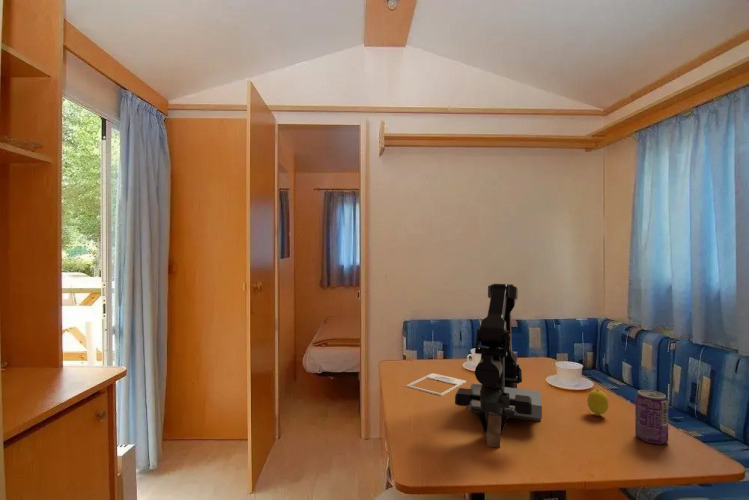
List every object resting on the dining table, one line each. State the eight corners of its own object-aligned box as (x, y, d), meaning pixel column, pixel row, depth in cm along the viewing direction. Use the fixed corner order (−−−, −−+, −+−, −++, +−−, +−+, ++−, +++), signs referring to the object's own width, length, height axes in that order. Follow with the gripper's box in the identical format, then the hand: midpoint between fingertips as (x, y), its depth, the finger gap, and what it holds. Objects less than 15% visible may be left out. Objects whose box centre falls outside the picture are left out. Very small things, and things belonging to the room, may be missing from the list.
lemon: (607, 413, 122) (607, 387, 122) (609, 421, 117) (609, 393, 117) (586, 410, 125) (586, 384, 125) (587, 417, 120) (588, 390, 120)
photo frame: (466, 380, 151) (441, 393, 138) (466, 383, 151) (441, 397, 138) (432, 372, 161) (406, 384, 147) (432, 375, 161) (406, 387, 147)
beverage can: (662, 435, 108) (662, 390, 108) (672, 448, 101) (672, 400, 101) (632, 431, 111) (632, 387, 110) (639, 443, 104) (639, 397, 104)
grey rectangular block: (540, 416, 121) (540, 390, 121) (541, 433, 110) (541, 405, 110) (471, 407, 128) (471, 383, 128) (466, 422, 117) (466, 396, 116)
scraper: (490, 416, 120) (491, 389, 120) (499, 447, 102) (501, 416, 102) (479, 415, 120) (481, 389, 120) (487, 446, 103) (489, 415, 102)
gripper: (451, 379, 100) (451, 441, 101) (532, 388, 94) (531, 455, 94) (458, 366, 111) (458, 423, 111) (531, 373, 104) (531, 434, 105)
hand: (492, 433), depth 105 cm, fingers closed on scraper, 3 cm apart
